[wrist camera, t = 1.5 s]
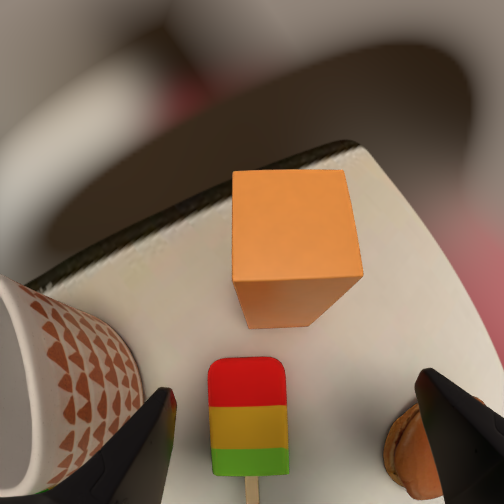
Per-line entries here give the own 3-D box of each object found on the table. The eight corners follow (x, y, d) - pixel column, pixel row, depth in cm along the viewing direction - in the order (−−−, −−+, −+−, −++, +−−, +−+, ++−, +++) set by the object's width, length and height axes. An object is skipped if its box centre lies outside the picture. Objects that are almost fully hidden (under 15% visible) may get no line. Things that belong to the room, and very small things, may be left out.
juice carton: (308, 326, 22) (364, 276, 10) (248, 329, 22) (231, 282, 10) (304, 269, 23) (344, 169, 11) (247, 271, 24) (232, 170, 12)
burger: (359, 452, 18) (382, 468, 13) (435, 369, 20) (467, 366, 15) (418, 504, 15) (442, 522, 10) (482, 429, 17) (513, 433, 12)
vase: (27, 434, 18) (-69, 439, 6) (33, 305, 23) (-62, 259, 11) (147, 477, 17) (59, 543, 5) (150, 320, 22) (51, 269, 10)
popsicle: (283, 355, 21) (285, 354, 19) (288, 522, 15) (290, 532, 14) (210, 358, 21) (205, 357, 19) (220, 523, 15) (217, 533, 14)
